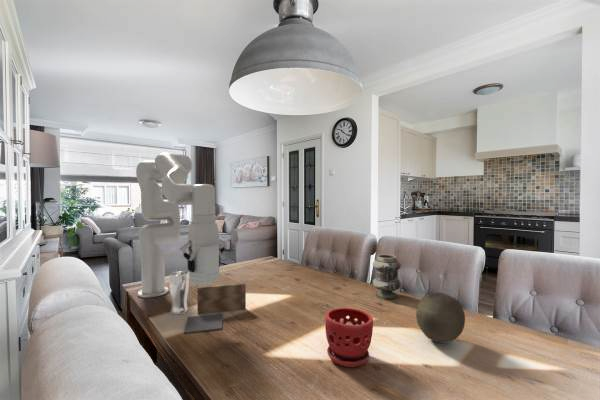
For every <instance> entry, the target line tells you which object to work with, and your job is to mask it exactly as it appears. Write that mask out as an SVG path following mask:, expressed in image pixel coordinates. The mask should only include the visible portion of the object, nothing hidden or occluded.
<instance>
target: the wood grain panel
mask: <svg viewBox="0 0 600 400" xmlns="http://www.w3.org/2000/svg"><path fill="white" fill-rule="evenodd" d="M196 291H197V301H196V302H197V315H201V314H203V315H204V314H212V313H213V314H214V313H222V312H231V311H243V310H246V309H247V308H246V302H247V301H246V298H247V295H246V293H247V292H246V283H245V282H244V283H242V282H241V283H231V284H220V285H202V286H197V290H196Z"/></svg>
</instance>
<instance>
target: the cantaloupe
mask: <svg viewBox="0 0 600 400" xmlns="http://www.w3.org/2000/svg"><path fill="white" fill-rule="evenodd" d="M464 310H465V309H464V308H463V307H462V305H461V303H460V302H459V301H458V300H457V299H456V298H454V297H453V296H451V295H449V294H447V293H444V292H431V293H428V294H426V295H424V296H422V298H421V299H420V300H419V302H418V306H417V309H416V312H415V318H416V323H417V325H418V326H419V329H420V330H421V332H422V333H423V335H424V336H425V337H426V338H428V339H429V340H430V341H433V342H434V343H435V342H436V343H440V344H445V343H449V342H452V341H454V340H456V339H458V338H459V336H461V334H462V333H463V331H464V328H465V325H466V324H465V323H466V314H465V311H464Z"/></svg>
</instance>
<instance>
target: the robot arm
mask: <svg viewBox="0 0 600 400" xmlns="http://www.w3.org/2000/svg"><path fill="white" fill-rule="evenodd" d="M135 168H136V169H135V170H136V171H135V172H136V173H135V175H136V179H137V183H138V186H139V189H140V201H141V207H140V208H141V216H142V218H143V219H144V220H145V221H147V222H149V221H150V222H155V221H167V222H161V223H160V222H159V223H148V224H144V225H142V226H141V227H140V228H139V230H138V235H137V236H138V240H139V246H140V266H141V268H140V271H141V273H140V274H141V275H140V276H141V277H140V278H141V279H140V280H141V289H140V290H138V291H137V296H138V297H140V298H144V299H145V298H157V297H160V296H164V295H166V294H168V292H170V287H168V286H165V285H166V281H165V280H166V276H165V275H166V273H165V272H166V269H165V267H166V264H165V261H166V260H165V251H164V250H163V248H161V247H160V245H162V244H163V245H164V244H170V243H171V244H173V243H175V242H178V241H179V239H180V237H181V213H180V212H181V211H180V206H191V208H192V209H191V210H192V211H191V212H192V223H190V224H189V228H188V232H187V233H188V235H187V242H186V243H185V244H183V245H182V246H180V247H179V251H180V254H181V255H182V257H184V258H185V259H186V260H187V270H188V272H189V271H190V272H195V261H194V260H193V258H194V257H195V255H196V254H198V253H199V248H200V247H206V246H214V245H219V268H220V266H221V257H222V255H223V253H224V251H225V249H226V247H227V245H228V242H227V241H224V240H222V239H221V238H220V233H219V226H218V223H217V221H216V220H219V215H216V189H215V186H214V185H213V184H210V183H209V184H208V183H201V184H200V183H198V184H197V183H196V184H195V183H194V184H193V183H185V182H187V180H188V177H189V176H188V175H189V174H190V173H191V171H192V169H193V162H192V159H191V158H190V157H189V156H188V155H185V154H181V153H180V154H179V153H173V152H162V153H159V154H158V155H157V156H155V159H154V160H142V161H140V162H139V163H138V164H137V165H136V167H135ZM157 181H161V186H160V185H159V183H158V182H157ZM163 196H164V198H165V199H163ZM189 247H191V248H192V250H191V251H190V250H189ZM187 251H188V253H187ZM189 251H190V252H189Z"/></svg>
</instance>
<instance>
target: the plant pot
mask: <svg viewBox="0 0 600 400" xmlns="http://www.w3.org/2000/svg"><path fill="white" fill-rule="evenodd" d="M347 317H348V318H347ZM341 319H342V320H343V321H341ZM356 320H357V321H356ZM324 322H325V326H324V327H325V328H324V329H325V336H326V340H327V343H328V346H327V349H326V352H327V355H328V357H329V358H330V360H332V361H333V362H334V363H335V364H337V365H341V366H342V367H350V368H352V367H354V368H355V367H359V366H362V365H364V364H365V363H366V362H367V361H368V360H369V359H370V352H369V351H368V350H369V349H370V346H371V343H372V337H373V329H374V318H373V317H372V315H370V314H369V313H367V312H366V311H364V310H360V309H357V308H351V307H339V308H333V309H330V310H329V311H327V312H326V315H325V321H324ZM347 323H351V324H347Z"/></svg>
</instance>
